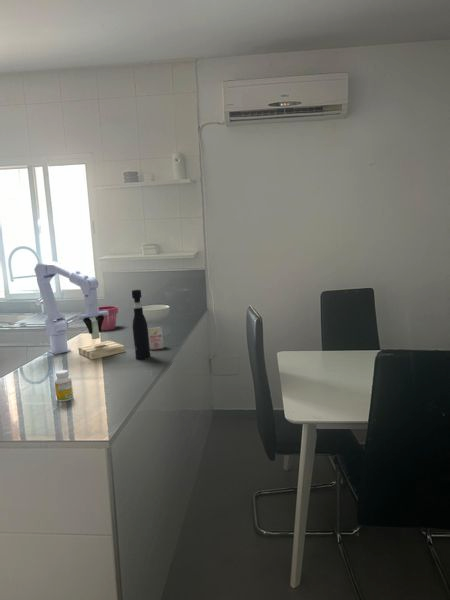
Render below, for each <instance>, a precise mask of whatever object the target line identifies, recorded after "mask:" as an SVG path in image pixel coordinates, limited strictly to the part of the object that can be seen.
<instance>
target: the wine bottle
mask: <svg viewBox="0 0 450 600" xmlns="http://www.w3.org/2000/svg"><path fill="white" fill-rule="evenodd" d="M131 298H132V299H133V300H134V303H133V313H134V314H133V319H132V334H133V345H134V353H135V359H136V360H138V361H139V360H140V361H141V360H148V359H150V358H151V357H152V356H151V350H150V346H149V337H148V328H149V326H148V323H147V322H148V321H147V320H146V317H145V315H144V312H143V311H144V309H143V304H142V303H141V298H142V291H141V289H134V290H131Z"/></svg>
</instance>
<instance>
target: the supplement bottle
mask: <svg viewBox="0 0 450 600" xmlns="http://www.w3.org/2000/svg"><path fill="white" fill-rule="evenodd" d="M55 377H56V378H55V379H54V387H55V395H56V401H58V402H61V403H62V402H67V401H70V400H73V398H74V391H73V383H72V377H71V376H69V370H67V369H63V370H58V371H55Z"/></svg>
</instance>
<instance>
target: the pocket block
mask: <svg viewBox="0 0 450 600" xmlns="http://www.w3.org/2000/svg"><path fill="white" fill-rule="evenodd" d="M77 348H78V354H79V355H81V356H83V357H85V358H88V359H89V360H96V359H100V358H104V357H107V356H112V355H118V354H120V353H125V346H124V344H121V343H117V342H115V341H113V340H106V341H102V342H97V343H92V344H87V345H83V346H78V347H77Z"/></svg>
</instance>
